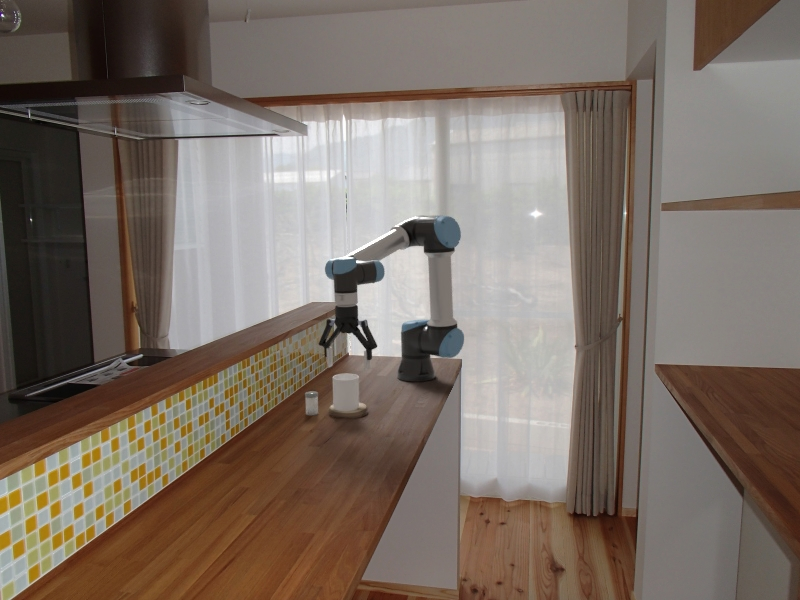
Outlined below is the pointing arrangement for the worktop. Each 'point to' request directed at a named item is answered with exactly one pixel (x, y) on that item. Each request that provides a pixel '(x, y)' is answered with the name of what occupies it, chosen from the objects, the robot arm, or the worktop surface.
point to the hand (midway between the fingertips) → (348, 368)
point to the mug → (346, 392)
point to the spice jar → (311, 403)
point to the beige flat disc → (349, 412)
